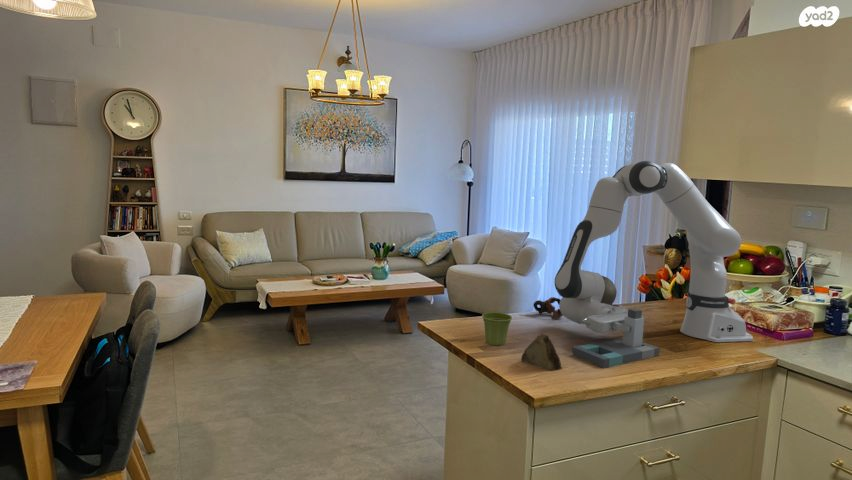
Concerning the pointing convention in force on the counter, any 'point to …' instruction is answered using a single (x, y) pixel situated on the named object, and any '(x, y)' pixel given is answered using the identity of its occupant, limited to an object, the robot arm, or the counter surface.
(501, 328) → the plant pot
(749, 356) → the counter surface
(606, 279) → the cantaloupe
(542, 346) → the rock
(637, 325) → the plug
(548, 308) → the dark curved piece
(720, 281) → the robot arm
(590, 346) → the panel
